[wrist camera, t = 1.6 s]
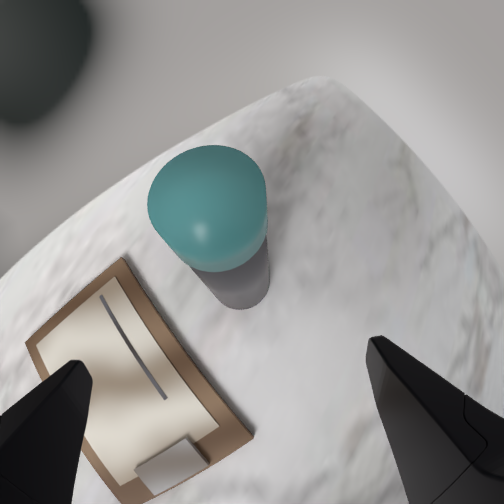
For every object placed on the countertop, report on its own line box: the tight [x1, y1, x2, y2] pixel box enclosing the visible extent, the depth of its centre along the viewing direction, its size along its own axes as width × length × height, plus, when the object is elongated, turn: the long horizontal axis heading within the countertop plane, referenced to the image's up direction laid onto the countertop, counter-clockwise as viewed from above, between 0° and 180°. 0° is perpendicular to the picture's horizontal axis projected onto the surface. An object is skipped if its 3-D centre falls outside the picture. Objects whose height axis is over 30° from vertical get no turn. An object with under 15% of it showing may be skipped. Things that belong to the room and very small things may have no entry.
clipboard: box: [25, 257, 254, 504], centre depth 19 cm, size 16×12×1 cm
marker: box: [147, 145, 269, 310], centre depth 16 cm, size 4×4×12 cm
